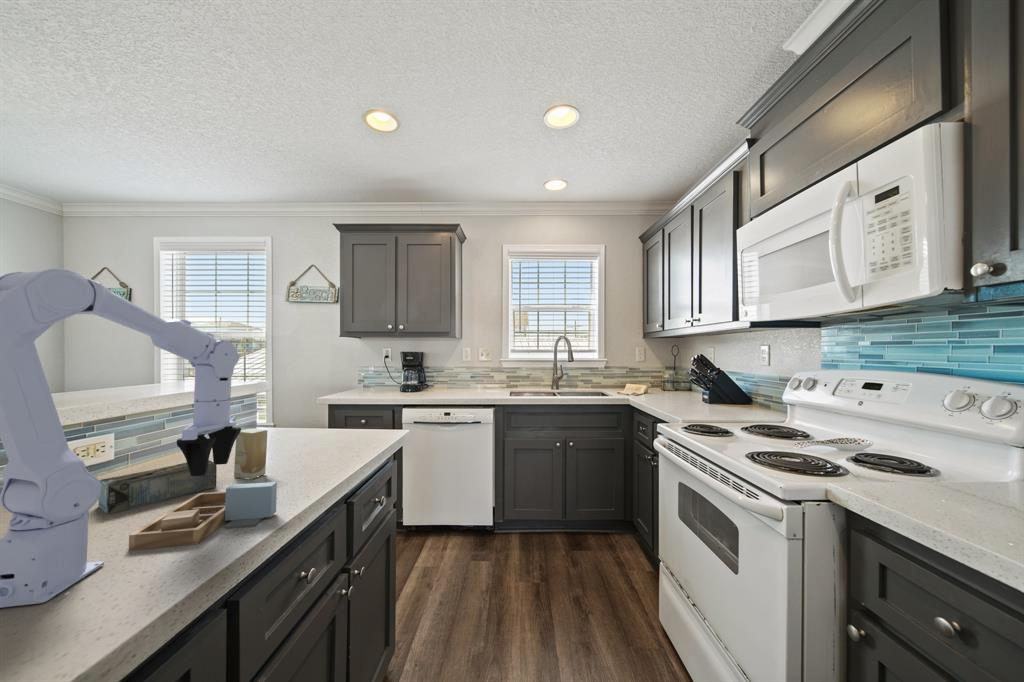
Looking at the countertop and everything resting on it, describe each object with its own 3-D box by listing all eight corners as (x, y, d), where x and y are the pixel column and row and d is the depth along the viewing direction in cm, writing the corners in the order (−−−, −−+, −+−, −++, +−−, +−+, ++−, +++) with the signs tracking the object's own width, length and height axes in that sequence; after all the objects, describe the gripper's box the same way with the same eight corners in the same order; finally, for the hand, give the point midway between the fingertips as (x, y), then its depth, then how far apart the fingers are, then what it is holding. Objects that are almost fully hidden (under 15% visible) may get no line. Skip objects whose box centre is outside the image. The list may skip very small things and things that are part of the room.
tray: (198, 543, 65) (198, 529, 65) (128, 550, 62) (129, 535, 63) (250, 500, 84) (251, 489, 84) (198, 504, 81) (199, 493, 82)
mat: (255, 525, 71) (255, 523, 71) (225, 528, 70) (225, 526, 70) (272, 509, 79) (272, 507, 79) (245, 511, 78) (245, 509, 78)
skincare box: (233, 477, 99) (234, 431, 100) (248, 472, 103) (250, 428, 104) (251, 480, 97) (252, 432, 98) (266, 475, 102) (268, 429, 102)
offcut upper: (191, 527, 66) (192, 516, 66) (161, 532, 65) (161, 520, 65) (199, 520, 70) (199, 509, 70) (170, 523, 68) (170, 512, 68)
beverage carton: (95, 507, 81) (97, 476, 81) (205, 482, 97) (206, 456, 97) (105, 516, 76) (106, 483, 76) (218, 488, 92) (219, 460, 93)
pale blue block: (271, 516, 74) (271, 486, 75) (224, 520, 73) (225, 489, 73) (276, 511, 77) (276, 481, 77) (231, 515, 75) (232, 484, 75)
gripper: (214, 404, 69) (211, 479, 68) (252, 396, 83) (250, 458, 82) (169, 405, 67) (166, 482, 67) (216, 396, 82) (213, 460, 81)
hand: (210, 469), depth 75 cm, fingers open, 7 cm apart
